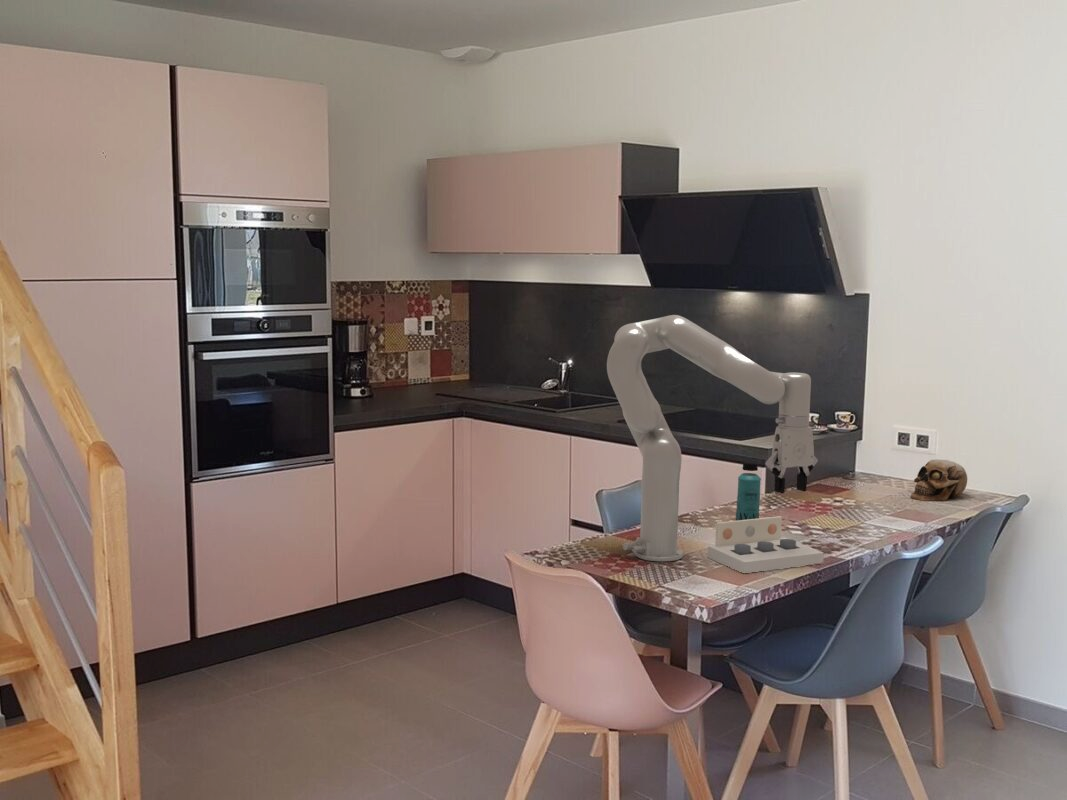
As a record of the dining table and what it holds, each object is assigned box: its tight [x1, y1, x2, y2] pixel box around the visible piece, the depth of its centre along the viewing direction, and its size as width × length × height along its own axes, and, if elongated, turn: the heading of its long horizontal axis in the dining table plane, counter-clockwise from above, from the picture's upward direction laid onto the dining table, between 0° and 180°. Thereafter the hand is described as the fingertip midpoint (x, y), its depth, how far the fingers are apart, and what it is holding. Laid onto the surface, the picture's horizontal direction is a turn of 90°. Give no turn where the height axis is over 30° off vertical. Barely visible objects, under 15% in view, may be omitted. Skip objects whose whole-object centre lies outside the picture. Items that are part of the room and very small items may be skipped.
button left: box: [734, 544, 751, 555], centre depth 270 cm, size 4×4×3 cm
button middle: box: [757, 541, 774, 552], centre depth 272 cm, size 4×4×3 cm
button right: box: [780, 538, 797, 550], centre depth 275 cm, size 4×4×3 cm
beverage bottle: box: [734, 461, 762, 521], centre depth 300 cm, size 6×7×20 cm
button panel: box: [706, 515, 825, 574], centre depth 272 cm, size 24×16×9 cm, turn 114°
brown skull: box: [909, 459, 968, 502], centre depth 351 cm, size 16×17×13 cm
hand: (790, 490), depth 273 cm, fingers open, 6 cm apart
